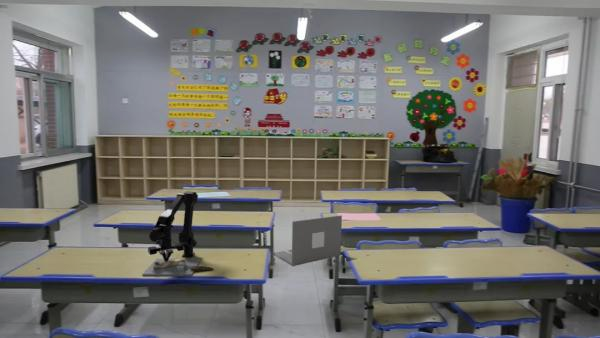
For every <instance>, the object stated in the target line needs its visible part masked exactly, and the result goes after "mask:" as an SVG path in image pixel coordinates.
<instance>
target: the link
mask: <svg viewBox="0 0 600 338" xmlns="http://www.w3.org/2000/svg"><path fill="white" fill-rule="evenodd" d="M175 259H176V260H171V261H166V262H161V263H159V262H155V263H154V264H153V269H159V268H163V267H168V266H172V265H177V264H179V263H180V262H185V259H186V258H185V257H181V258H175Z"/></svg>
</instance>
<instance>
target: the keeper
mask: <svg viewBox="0 0 600 338" xmlns="http://www.w3.org/2000/svg"><path fill="white" fill-rule="evenodd" d="M185 263H186V262H180V263H179V264H178V271H184V264H185Z"/></svg>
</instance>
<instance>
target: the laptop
mask: <svg viewBox="0 0 600 338" xmlns="http://www.w3.org/2000/svg"><path fill="white" fill-rule="evenodd" d="M342 222H343V216H342V215H341V214H340V215H332V216H326V217H318V218H310V219H302V220H301V219H300V220H294V221H292V222H291V223H292V224H291V225H292V227H291V228H292V232H291V249H290V250H288V251H284V250H283V251H278V252H273V256H275V257H276V258H277V259H280V260H281V261H282V262H284V263H286V264H288V265H290V266H291V267H297V266H301V265H305V264H308V263H309V264H310V263H312V262H317V261H322V260H326V259H330V258H336V257H339V256H341V251H342V250H341V249H342V248H341V247H342Z"/></svg>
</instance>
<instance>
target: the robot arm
mask: <svg viewBox="0 0 600 338" xmlns="http://www.w3.org/2000/svg"><path fill="white" fill-rule="evenodd" d="M198 197H199V195H198V193H197V192H196V191H188V190H187V191H184V192H178V193H177V194H176V197H175V199H173V201H172V202H171V205H169V207H168V208H167V210H165V211H164V212H162V213H161V214H160V215H159V216H158V218H157V221H156V223H155V226H154V228H152V231H151V232H149V236H148V237H149V239H150V241H151V242H154V243H155V245H158V247H156V246H149V247H148V248H147V252H148V254H149V255H150V256H152V255H157V254H158V253H159V255H160V256H162V259H164V261H165V262H166V261H168V260H169V259H170V257H171V256H172V254H174V250H177V251H178V252H181V251H183V254H182V255H181V258H193V257H194V255H196V253H195V252H194V248H195V247H196V246H197V245H198V244H197V243H198V242H197V240H196V239H195V237H194V236H195V235H194V232H193V231H192V229H193V216H194V207H195V206H196V204H197V202H198ZM183 204H184V206H185V207H184V214H183V215H184V216H183V217H184V218H183V227H182V230H181V232H178V237H177V238H178V243H174V244H173V245H172V228H174V225H173V223H174V221H175V215H176V213H177V212H178V211H179V209H180V208H181V206H182V205H183Z"/></svg>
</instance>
